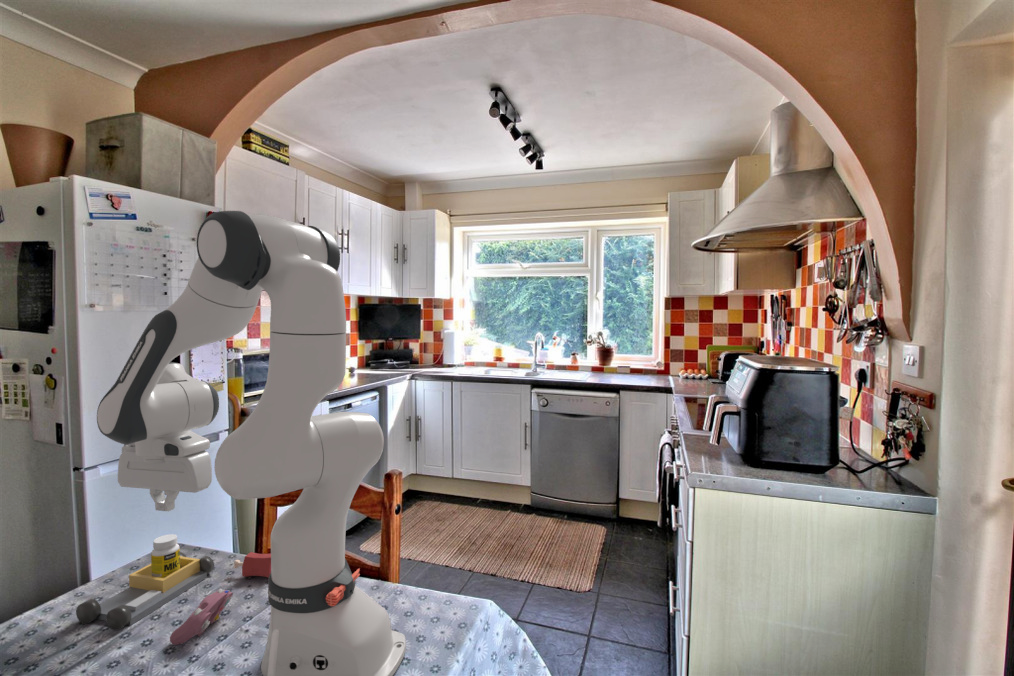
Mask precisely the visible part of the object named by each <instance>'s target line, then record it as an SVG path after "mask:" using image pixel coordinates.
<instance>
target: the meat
mask: <svg viewBox="0 0 1014 676" xmlns="http://www.w3.org/2000/svg"><path fill="white" fill-rule="evenodd" d="M239 567H241V575H242V577H244V578H245V577H246V578H249V577H264V578H269V575H270V573H271V553H257V552H253V551H251V552H249V553H247V554H246V555H245V556H244V558H243V561H241V560H240V559H235V560H234V562H233V569H238V568H239Z"/></svg>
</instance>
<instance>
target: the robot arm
mask: <svg viewBox="0 0 1014 676" xmlns="http://www.w3.org/2000/svg"><path fill="white" fill-rule="evenodd" d="M196 251H197V256H198V258H197V259H196V261H195V264H194V266H193V269H192V271H191V272H190V273H191V274H190V276H189V278H188V282H187V284H186V287H185V288H184V290H183V291H182V293H181V295H180V296H179V297H178V298H177V299H176V300H175V301H174V302H173V303H172V304H171V305H170V306H169V307H167V308H165V310H163V311H161V312H159V313H156V314H155V315H154V316H153V317H152V319H150V321H149V322H148V324H147V325H146V327H145V329H144V330H143V332H142V334H141V335H140V337H139V339H138V341H137V343H136V344H135V346H134V348H133V350H132V352H131V353H130V355H129V357H128V359H127V361H126V362H125V364H124V366H123V367H122V370H121V372H120V373H119V376H118V377H117V379H116V381H115V382H114V384H113V385H112V386H111V387H110V389H108V391H107V392H106V393H105V395H104V396H103V397H102V398H101V400H100V401H99V404H98V406H97V412H96V423H97V428H98V430H99V432H100V433H101V434H102V435H104V436H105V437H107V438H108V439H110V440H111V441H113V442H115V443H118V444H121V445H123V446H122V447H121V454H120V456H119V459H118V464H117V465H118V466H117V483H118V484H119V487H122V488H132V489H144V490H149V495H150V497H151V498H152V500H153V502H154V506H155V511H161V512H171V511H173V510H174V509H175V508H176V507H175V505H176V504H175V502H176V500H177V497H178V496H179V493H181V492H182V493H192V494H193V493H194V494H196V493H198V492H202V491H203V490H205V489H209V487H210V486H211V483H212V481H213V471H212V470H213V467H212V459H211V455H210V453H209V452H208V451H207V450H209V449H210V447H211V444H210V443H211V442H210V440H209V439H208V438H207V437H204V436H202V435H200V434H198V433H196V432H194V431H193V430H197V429H200V428H204V427H206V426H209V425H210V424H212V422H213V421H214V419H215V418H216V416H217V415H218V412H219V410H220V398H219V394H218V391H217V389H215V387H213V385H212V384H211V383H209V382H207V381H205V380H199V379H197V378H195V377H193V376H191V375H190V374H188V373H187V372H186V369H185V367H184V365H183V364H182V363H178V362H174V361H173V360H175V358H177V357H178V356H180V355H182V354H184V353H186V352H189V351H191V350H193V349H196V348H200V347H202V346H205V345H208V344H214V343H216V342H220V341H224V340H227V339H229V338H232V337H234V336H236V335H237V334H239V333H241V332H242V331H243V330H244V329H245V328H246V327H247V326H248V324H249V323H250V322H251V321H252V319H253V316H254V314H255V312H256V309H257V307H258V304H259V302H260V297H261V295H262V292H263V291H265V292H266V294H267V296H268V298H269V301H270V317H269V318H270V319H269V321H270V323H269V352H268V353H269V354H268V356H269V357H268V369H267V375H266V376H267V377H266V382H265V385H264V389H263V392H262V394H261V397H260V399H259V400H258V403H257V404H256V406H255V407H254V409H253V410H252V412H250V414H249V416H248V417H246V419H245V420H244V421H243V422H242V423H241V424H240V425H239V426H238V427H237V428H236V429H234V430H233V431H232V432H231V433H230V434H228V435H227V436H226V437H225V438H224V439H223V440H222V442H221V444H220V446H219V447H218V450H217V452H216V455H215V459H214V474H215V478H216V481H217V482H218V485H219V487H220V488H221V489H222V490H223V491H224V492H225V493H226V494H227V495H228V496H230V497H231V498H233V499H234V500H249V499H251V500H252V499H254V500H255V499H264V498H265V499H267V498H272V497H276V496H279V495H284V494H287V493H291V492H295V491H298V490H299V491H300V490H302V492H301V493H300V494H299V496H298V498H297V499H296V501H294V503H293V504H292V505H290V506H289V507H288V508H287V509H286V510H284V512H283V513H282V514H280V516H278V518H277V519H276V521H275V522H274V525H273V527H272V529H271V533H270V554H271V573H270V575H269V577H268V583H267V584H268V588H267V597H268V603H269V605H270V615H269V616H270V617H269V627H268V635H267V641H266V644H265V650H264V654H263V656H262V659H261V663H260V664H261V665H260V671H261V674H262V676H394V674H395V673H396V671H397V670H398V669H399V667H400V665H401V663H402V661H403V660H404V656H405V654H406V650H407V644H406V643H407V641H406V636H405V634H403V633H401V632H399V631H396V630H393V628H392V624H391V618H390V615H389V613H388V611H387V609H386V608H385V607H383V606H382V605H380V603H378V602H377V601H375V599H374V598H373V597H372V596H369V595H368V594H367V593H366V592H364V591H363V590H362V589H361V588H360V587H358V585H356V580H357V579H358V578H359V577H360V575H361V574H360V571H361V570H360V569H361V568H357V569H356V571H354V572H353V573H352V571H351V568H350V565H349V563H348V561H347V559H346V558H345V557H346V533H347V532H346V531H347V530H346V529H347V520H348V514H349V511H350V507H351V503H352V502H353V499H354V496H355V494H356V492H357V490H358V488H359V487H360V485H361V483H362V481H363V479H364V478H365V477H366V476H367V474H368V473H369V472H370V471H371V469H372V468H373V467H374V466H375V465H376V464H377V463H378V462H379V461H380V458H381V456H382V454H383V451H384V445H385V437H384V432H383V430H382V427H381V424H380V423H379V422H378V421H377V419H376V418H375V417H373V415H371V414H369V413H366V412H358V411H339V412H337V411H336V412H332V413H331V412H330V413H326V414H319V415H313V414H314V411H315V410H316V408H317V406H318V405H319V404H320V402H321V401H322V400H323V399H324V398H326V397H327V396H328V395H330V394H331V393H333V392H334V391H336V390H337V389H338V388H339V387H340V386H341V385H342V383H343V381H344V379H345V375H346V367H347V366H346V364H347V363H346V361H347V360H346V358H347V357H346V355H347V313H346V312H347V311H346V302H345V295H344V288H343V283H342V278H341V276H340V274H339V273H338V271H339V269H340V264H341V253H340V247H339V244H338V242H337V240H336V239H335V238H334V236H333V235H331V233H328V232H327V231H325V230H323V229H321V228H320V227H317V226H313V225H304V224H302V223H298V222H295V221H291V220H288V219H284V218H282V217H278V216H275V215H266V214H261V213H260V214H257V213H256V214H255V213H246V212H244V211H241V210H221V211H215V212H212V213H210V214H209V215H208V216H207V217H206V218H205V219H204V220H203V222H202V223H201V225H200V227H199V228H198V230H197V236H196ZM172 361H173V362H172Z"/></svg>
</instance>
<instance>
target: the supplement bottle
mask: <svg viewBox="0 0 1014 676" xmlns="http://www.w3.org/2000/svg"><path fill="white" fill-rule="evenodd" d="M152 542H153V543H152V545H153V546H152V548H153V549H152V551H151V553H150V564H151V569H152V577H158V578H165V577H167V576H169V575H170V574H172V573H174V572H175V571H177V570H179V569H180V552H181V549H180V545H179V544H178V536H177V534H171V533H170V534H163V535H161V536H158V537H157V538H154V539H153V541H152Z"/></svg>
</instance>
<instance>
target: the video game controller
mask: <svg viewBox="0 0 1014 676" xmlns="http://www.w3.org/2000/svg"><path fill="white" fill-rule="evenodd" d="M233 594H234V593H233V592H232V591H230V590H228V589H222V588H221V587H220V588H218V590H216V591H215V592H213V593H211V594H208V595H207V596H206V597H204V598H202V600H201V601H200V602H199V605H198V607H196V608H195V609H194V611H193V612H192V613H191V614H190V615H189V617H188V618H187V619H186V621H184V623H182V624H181V625H180V626H179V627H178V628H176V629H174V630H173V632H172V633H171V635H170V636H169V641H170V643H171V644H172V645H175V646H179V645H182V644H184V643H187V642H188V641H189V640H190V639H192V638H194V636H199V637H200V636H201V635H203V634H204V632H205V631H206V629H207V628H208V627H209V626H210V624H211V625H213V624H214V623H215V622H216V621H217V620H219V619H220V615H221V613H222V611H224V609H225V608H226V607H227V605H228V604H229V602H230V601H231V599H232V597H233Z"/></svg>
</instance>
